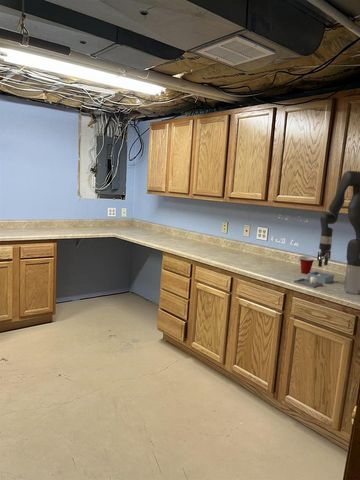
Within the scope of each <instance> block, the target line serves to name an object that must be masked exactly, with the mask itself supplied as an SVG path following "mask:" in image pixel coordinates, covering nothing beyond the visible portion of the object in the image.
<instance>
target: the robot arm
mask: <svg viewBox="0 0 360 480" xmlns="http://www.w3.org/2000/svg"><path fill="white" fill-rule="evenodd" d="M339 181H340V182H339V184H338V187H337V190H336V193H335V195H334V197H333V199H332V201H331V203H330V205H329V206H328V211H329V213H327V212H324V213H322V215H320V219H319V220H320V221H319V222H320V229H321V232H320V233H321V234H320V239H319V246H318V249H319V250H320V251H318V252H317V258H316V260H317V261H318V265H317V266H318V267H320V268H322V267H323V265H324V266H328V263H329V260H330V259H331V252H332V251H331V250H332V243H333V231H334V230H333V228H332V227H329V225H334V224H335V223H336V222H337V221H338V218H339V215H340V212H341V209H342V208H343V207H344V205H345V204H344V203H345V199H346V198H345V194H346V190H347V189H348V188H349V187H352V196H351V198H350V201H349V203H348V206H347V216H348V217H347V218H348V221H349V222H350V225H351V226H352V227H353V230H354V234H355V238H353V239H350V240H349V241H348V244H347V246H346V261H347V263H346V269H345V277H344V285H343V291H344V292H346V293H348V294H354V295H360V171H356V170H348V171H345V172H344V173H343V174H342V176H341V178H340V180H339ZM323 261H324V262H323Z"/></svg>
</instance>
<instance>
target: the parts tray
mask: <svg viewBox="0 0 360 480" xmlns="http://www.w3.org/2000/svg"><path fill="white" fill-rule="evenodd" d="M293 283H295V284H298V285H302V286H306V287H310V288H313V289H314V288H316V287H320V286H323V284H324V283H320V282H316V285H310V280H308V279H307V278H298V279H296V280H295V279H294V280H293Z"/></svg>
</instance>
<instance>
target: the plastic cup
mask: <svg viewBox="0 0 360 480" xmlns="http://www.w3.org/2000/svg"><path fill="white" fill-rule="evenodd" d="M315 259H316V258H315V257H313V256H310V255H301V256H299V261H300V262H299V263H300V273H301V274H304V275H308V273H311V270H312V266H313V263H314V260H315Z"/></svg>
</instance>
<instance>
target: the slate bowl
mask: <svg viewBox="0 0 360 480" xmlns="http://www.w3.org/2000/svg"><path fill="white" fill-rule="evenodd" d="M319 274H321V275H322V276H323V277H322V276H318V275H319ZM310 277H317V282H320V283H323V284H328V283H332V282H334V277H335V275H334V274H332V273H326V272H321V271H318V270H316V271H312V272H311V271H310V273H308V274H307V276H306V279H308V280H310Z"/></svg>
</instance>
